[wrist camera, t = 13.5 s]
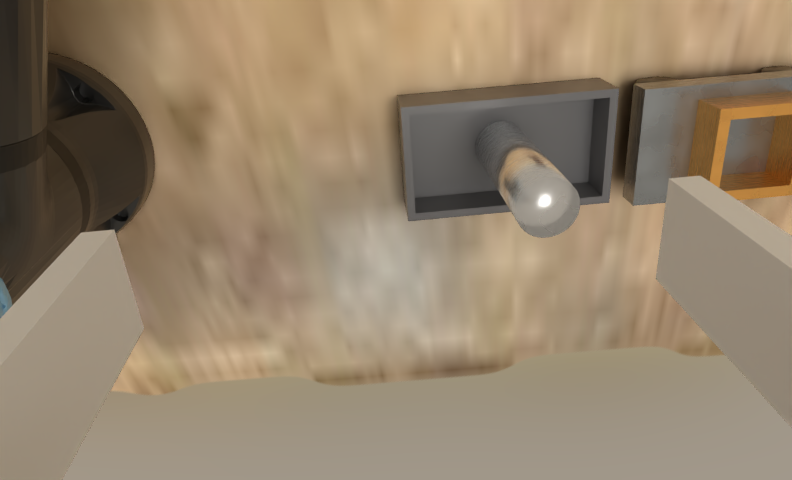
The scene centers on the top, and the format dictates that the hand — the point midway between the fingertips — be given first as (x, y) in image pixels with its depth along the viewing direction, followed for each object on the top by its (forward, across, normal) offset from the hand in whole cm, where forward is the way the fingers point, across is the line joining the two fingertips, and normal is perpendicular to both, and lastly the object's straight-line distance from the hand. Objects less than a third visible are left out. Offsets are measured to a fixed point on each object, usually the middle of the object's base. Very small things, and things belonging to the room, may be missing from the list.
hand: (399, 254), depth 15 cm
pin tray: (+35, +10, -8) cm, 37 cm away
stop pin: (+34, +10, -8) cm, 36 cm away
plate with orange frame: (+35, +27, -8) cm, 45 cm away
